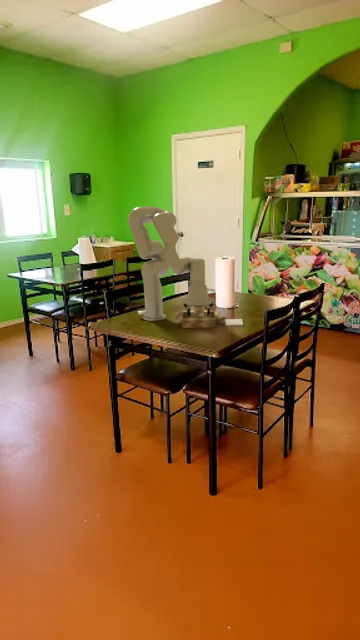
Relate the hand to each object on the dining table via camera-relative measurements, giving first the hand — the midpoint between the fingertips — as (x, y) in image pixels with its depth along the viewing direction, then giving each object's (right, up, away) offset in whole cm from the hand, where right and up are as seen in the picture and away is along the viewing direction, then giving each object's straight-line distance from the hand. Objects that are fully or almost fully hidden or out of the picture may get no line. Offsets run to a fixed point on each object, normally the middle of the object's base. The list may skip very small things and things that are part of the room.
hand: (198, 315), depth 226 cm
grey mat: (+18, -4, 0) cm, 19 cm away
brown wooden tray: (0, -4, +1) cm, 4 cm away
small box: (+5, 0, +18) cm, 19 cm away
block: (0, -4, +1) cm, 4 cm away
